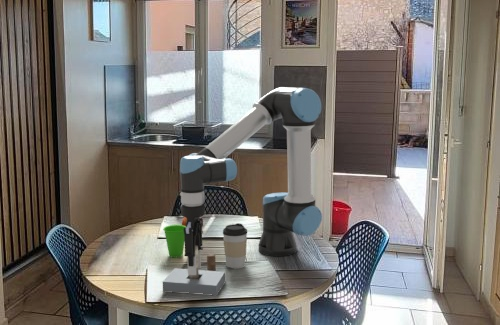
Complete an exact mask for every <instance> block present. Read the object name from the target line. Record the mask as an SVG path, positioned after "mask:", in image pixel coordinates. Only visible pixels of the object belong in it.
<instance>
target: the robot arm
mask: <svg viewBox="0 0 500 325" xmlns="http://www.w3.org/2000/svg"><path fill="white" fill-rule="evenodd" d="M321 112H322V101H321V98H320V96H319V95H318V93H316V91H314V90H313V89H311V88H307V87H295V86H294V87H293V86H290V87H289V86H280V87H276V88H275V89H272V90H271V91H269V92H268V93H267V94H265V95H263V96H262V97H261V98H260V99H258V100H257V101H255V102H254V103H253V105H252V108H251V109H250V110H249V111H248V112H247V113H245V114H244V115H243V116H242V117H240V118H239V119H238V120H237V121H235V122H234V123H233V124H232V125H231V126H229V127H228V128H227V129H226V130H225V131H224V132H222V133H221V134H220V135H219V136H217V137H216V138H215V139H214V140H212V142H210V143H209V144H207V146H205V147H204V148H202V149H201V150H200V151H199V152H193V153H190V154H189V155H185V156H183V157H181V159H180V161H179V163H180V164H179V174H180V193H179V196H180V202H181V205H180V206H181V207H180V208H181V209H180V210H181V212H180V213H181V216H182V217H183V218H184V217H186V218H187V222H186V227H184V229H183V230H184V240H185V241H184V257H187V258H186V259H187V260H186V261H187V269H188V275H196V256H195V245H197V246H198V270H202V269H201V268H202V267H201V266H202V265H201V262H202V260H201V258H202V257H201V251H203V250H204V247H202V246H203V227H202V219H203V217H204V215H205V212H206V211H205V210H206V209H205V204H204V203H205V185H208V184H216V183H223V182H224V183H226V182H230V181H233V180H234V179H236V177H237V174H238V166H237V164H236V161H235V160H234V159H232V158H227V157H229V155H231V154H232V153H234V151H235V150H236V149H238V148H239V147H240V146H242V145H243V144H244V143H245V142H246V141H248V140H249V139H250V138H251V137H252V136H253V135H254V134H256V133H257V132H258V131H260V129H262V128H263V127H264V126H265V125H271V124H272V123H274V121H277V120H279V119H282V127H283V128H284V129H285V130H286V146H287V147H286V148H287V149H286V150H287V160H286V161H287V192H272V193H268V194H266V195H264V196H263V198H262V233H261V235H260V236H261V237H260V239H259V242H258V252H259V253H261V254H263V255H266V256H271V257H284V256H285V257H286V256H290V255H293V254H296V252H297V242H296V239H295V236H294V234H295V235H299V236H303V237H308V236H310V235H313V234H314V233H315V232H316V231H317V230H318V229H319V227H320V226H321V224H322V220H323V214H322V211H321V210H320V208H319V207H318V206H316V197H315V196H314V194H312V144H311V142H312V138H311V137H312V135H311V131H312V128H314V127H315V125H316V120H317V119H319V115H321Z"/></svg>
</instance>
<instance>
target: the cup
mask: <svg viewBox="0 0 500 325" xmlns="http://www.w3.org/2000/svg"><path fill="white" fill-rule="evenodd" d="M184 227H186V226H183V225H182V224H171V225H166V226H164V227H163V231H164V236H165V240H166V246H167V250H168V251H167V252H168V255H169V257H171V258H181V257H183V254H184V250H185V240H184V230H183V229H184Z"/></svg>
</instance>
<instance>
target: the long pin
mask: <svg viewBox="0 0 500 325" xmlns="http://www.w3.org/2000/svg"><path fill="white" fill-rule="evenodd" d="M195 256H196V275H190V279H198V280H199V271H198V246H197V245H195Z"/></svg>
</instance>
